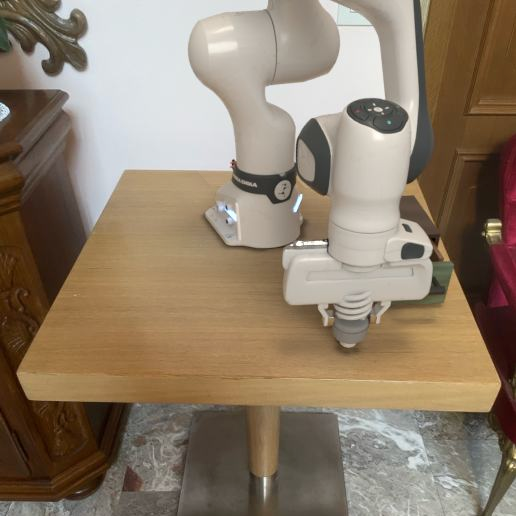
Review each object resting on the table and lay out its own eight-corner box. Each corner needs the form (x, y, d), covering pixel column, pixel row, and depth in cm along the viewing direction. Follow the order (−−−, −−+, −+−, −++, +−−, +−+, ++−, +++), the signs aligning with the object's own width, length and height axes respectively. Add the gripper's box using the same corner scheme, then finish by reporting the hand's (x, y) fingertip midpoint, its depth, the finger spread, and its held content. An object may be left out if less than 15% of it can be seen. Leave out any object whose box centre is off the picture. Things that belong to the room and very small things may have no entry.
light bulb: (331, 358, 78) (338, 291, 70) (326, 335, 82) (332, 269, 74) (369, 358, 78) (380, 290, 70) (362, 334, 82) (372, 268, 74)
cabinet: (430, 279, 94) (441, 233, 88) (360, 282, 93) (367, 236, 88) (405, 237, 106) (413, 195, 100) (344, 240, 105) (348, 197, 100)
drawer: (453, 318, 83) (464, 279, 79) (382, 321, 83) (389, 282, 78) (418, 258, 98) (425, 222, 93) (357, 260, 97) (362, 225, 93)
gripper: (284, 253, 65) (282, 339, 74) (445, 246, 66) (424, 332, 75) (279, 229, 70) (278, 313, 79) (430, 223, 71) (411, 307, 80)
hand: (350, 322), depth 77 cm, fingers closed on light bulb, 5 cm apart
